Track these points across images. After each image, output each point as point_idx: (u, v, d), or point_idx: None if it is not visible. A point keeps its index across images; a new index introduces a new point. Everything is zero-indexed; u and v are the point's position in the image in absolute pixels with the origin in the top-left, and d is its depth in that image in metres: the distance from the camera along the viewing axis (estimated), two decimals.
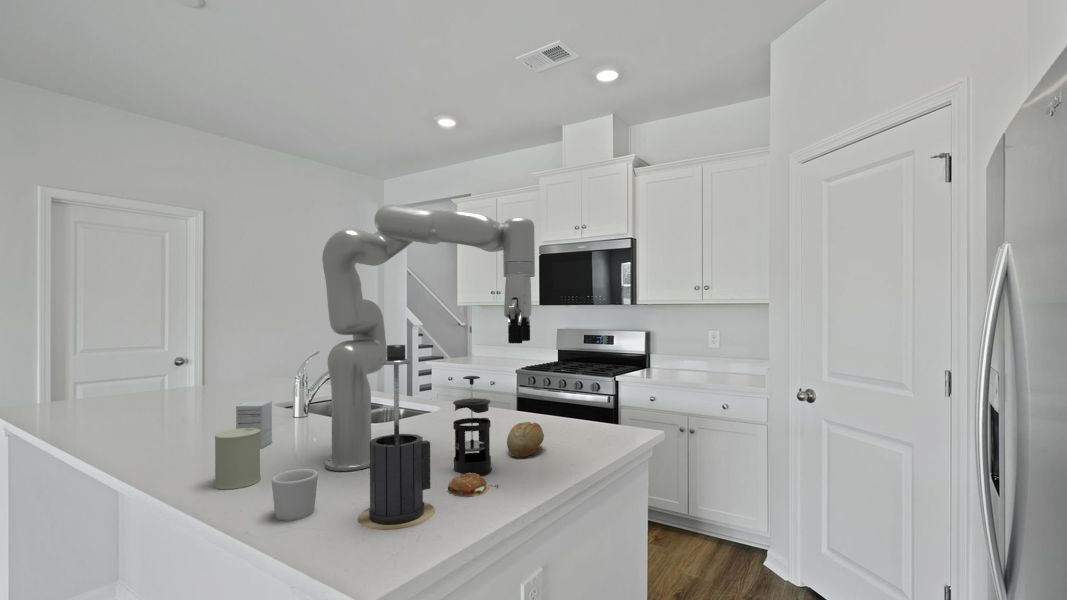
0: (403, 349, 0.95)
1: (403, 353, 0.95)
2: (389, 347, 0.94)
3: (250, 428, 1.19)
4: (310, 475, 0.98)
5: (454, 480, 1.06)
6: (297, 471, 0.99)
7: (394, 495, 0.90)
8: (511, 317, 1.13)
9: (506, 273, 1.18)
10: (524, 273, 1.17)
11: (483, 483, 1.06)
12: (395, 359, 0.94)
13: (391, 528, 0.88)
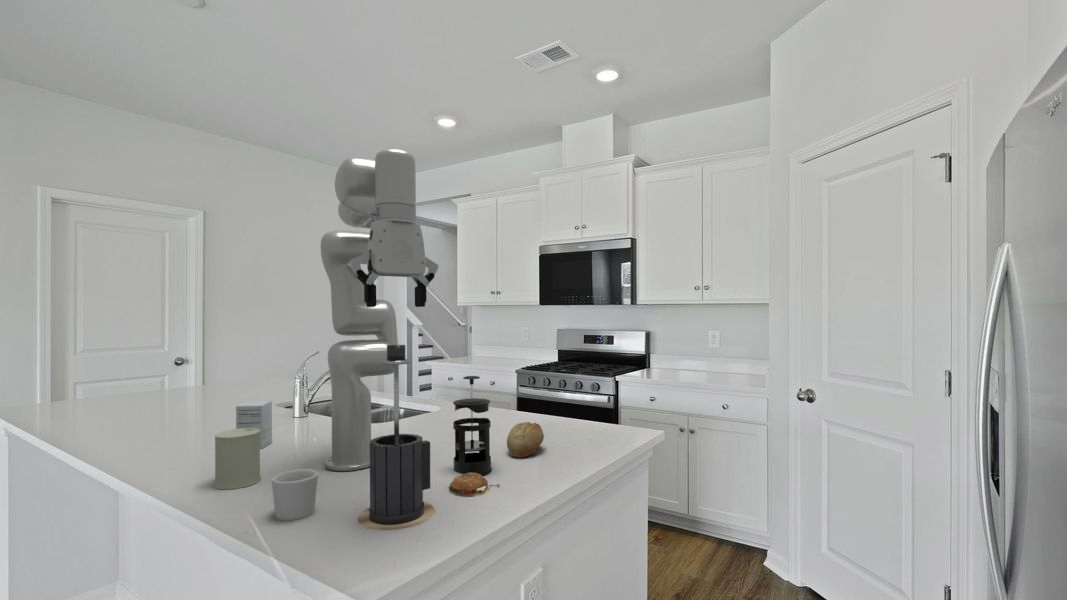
0: (403, 349, 0.95)
1: (403, 353, 0.95)
2: (389, 347, 0.94)
3: (250, 428, 1.19)
4: (310, 475, 0.98)
5: (455, 480, 1.06)
6: (297, 471, 0.99)
7: (394, 495, 0.90)
8: None
9: (415, 220, 0.96)
10: None
11: (484, 483, 1.06)
12: (395, 359, 0.94)
13: (391, 528, 0.88)
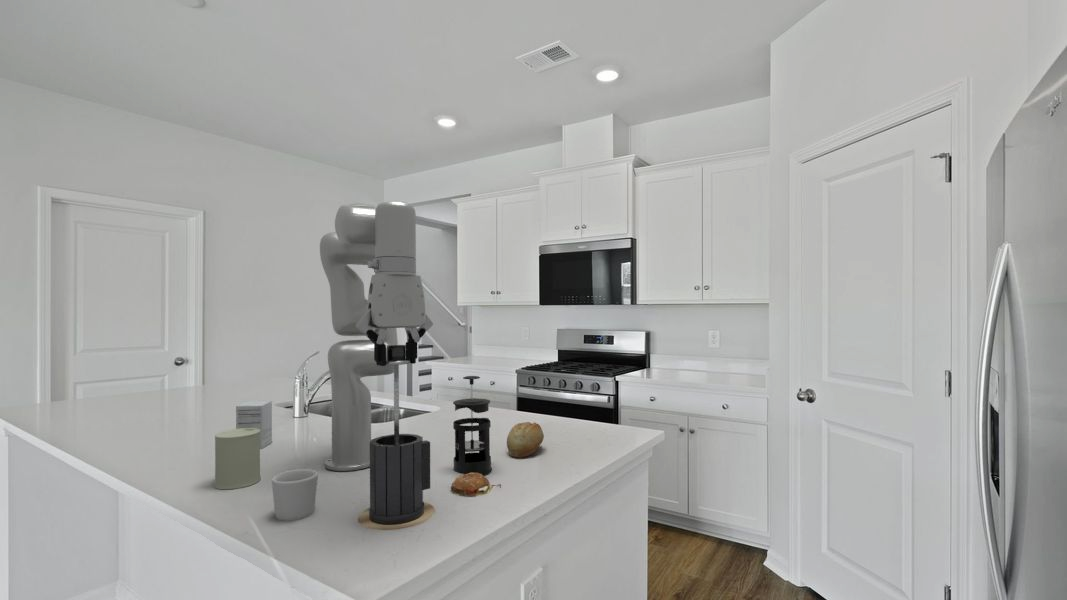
0: (403, 349, 0.95)
1: (403, 353, 0.95)
2: (389, 347, 0.94)
3: (250, 428, 1.19)
4: (310, 475, 0.98)
5: (457, 480, 1.07)
6: (297, 471, 0.99)
7: (394, 495, 0.90)
8: None
9: (415, 272, 0.95)
10: None
11: (486, 483, 1.06)
12: (395, 359, 0.94)
13: (391, 528, 0.88)
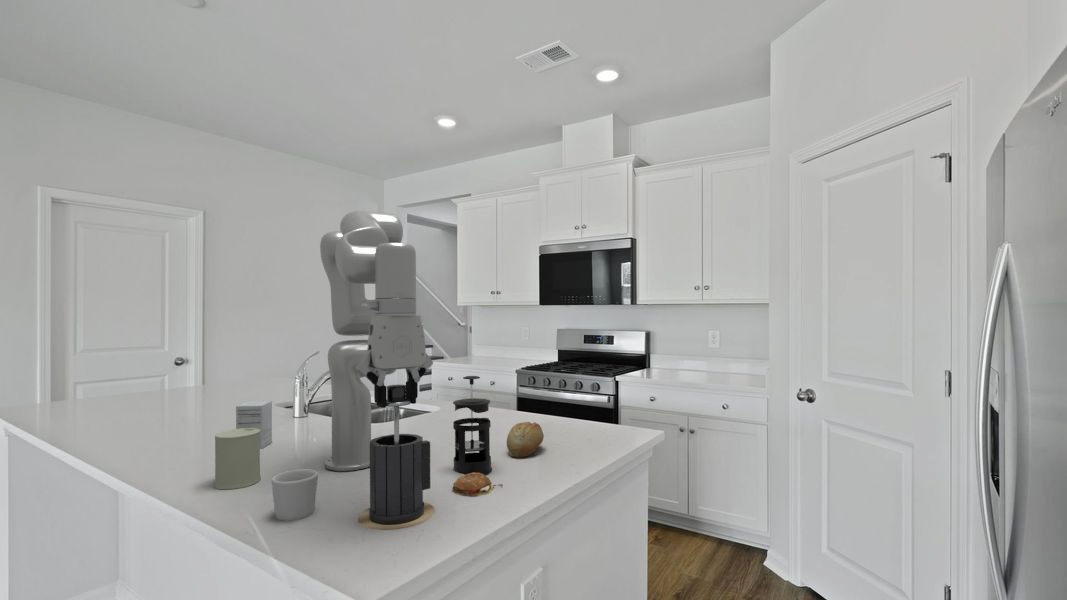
0: (403, 390, 0.94)
1: (403, 394, 0.94)
2: (389, 388, 0.94)
3: (250, 428, 1.19)
4: (310, 475, 0.98)
5: (459, 480, 1.07)
6: (297, 471, 0.99)
7: (394, 495, 0.90)
8: None
9: (415, 312, 0.95)
10: None
11: (488, 482, 1.06)
12: (395, 400, 0.93)
13: (391, 528, 0.88)
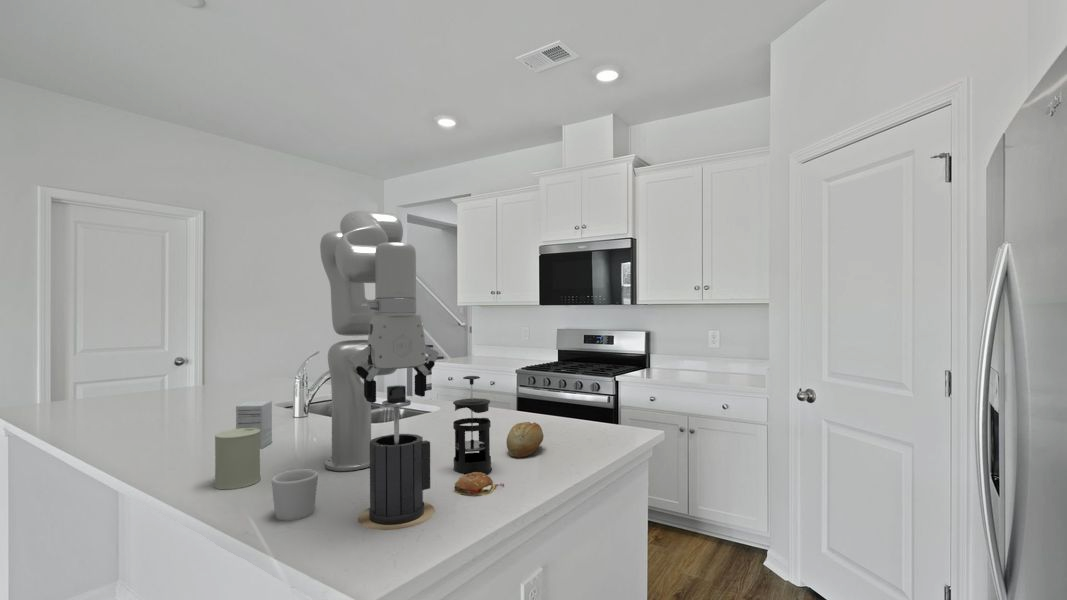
0: (403, 391, 0.94)
1: (403, 395, 0.94)
2: (389, 389, 0.94)
3: (250, 428, 1.19)
4: (310, 475, 0.98)
5: (461, 479, 1.07)
6: (297, 471, 0.99)
7: (394, 495, 0.90)
8: None
9: (415, 312, 0.95)
10: None
11: (490, 482, 1.07)
12: (395, 401, 0.93)
13: (391, 528, 0.88)
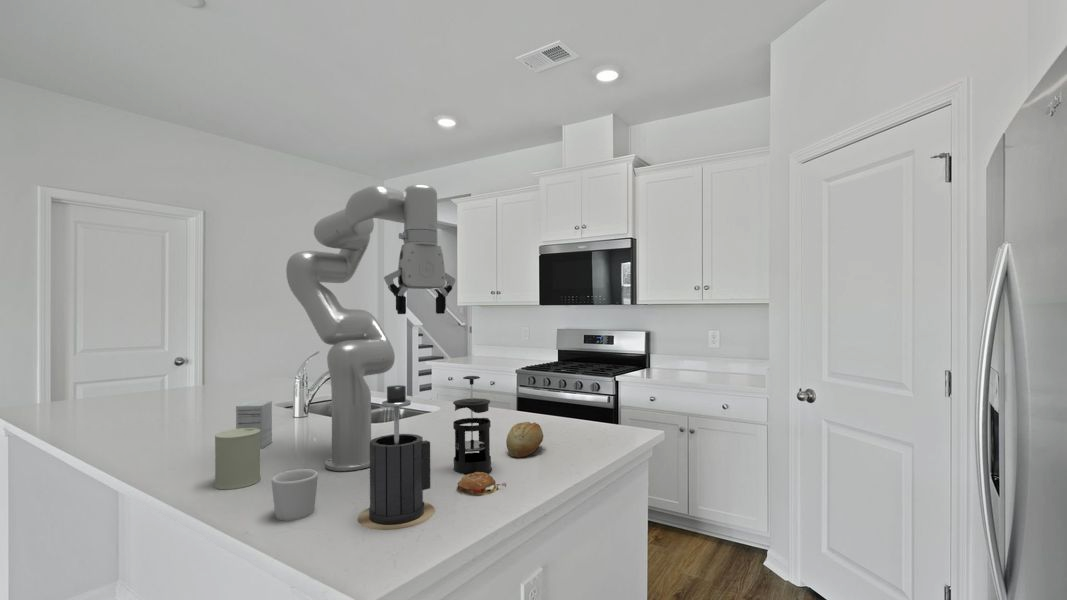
0: (403, 391, 0.94)
1: (403, 395, 0.94)
2: (389, 389, 0.94)
3: (250, 428, 1.19)
4: (310, 475, 0.98)
5: (463, 479, 1.07)
6: (297, 471, 0.99)
7: (394, 495, 0.90)
8: None
9: (436, 243, 1.16)
10: None
11: (493, 482, 1.07)
12: (395, 401, 0.93)
13: (391, 528, 0.88)
